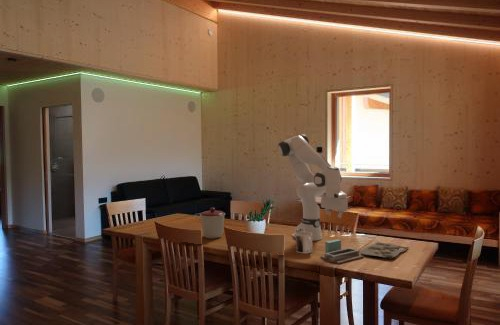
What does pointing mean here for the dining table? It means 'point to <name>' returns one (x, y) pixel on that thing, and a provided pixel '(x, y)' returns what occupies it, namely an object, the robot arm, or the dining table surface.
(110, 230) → the dining table surface
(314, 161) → the robot arm
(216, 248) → the dining table surface
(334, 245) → the teal box
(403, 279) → the dining table surface
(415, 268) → the dining table surface
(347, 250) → the track sill
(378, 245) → the stone relief
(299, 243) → the mug
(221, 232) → the canister
